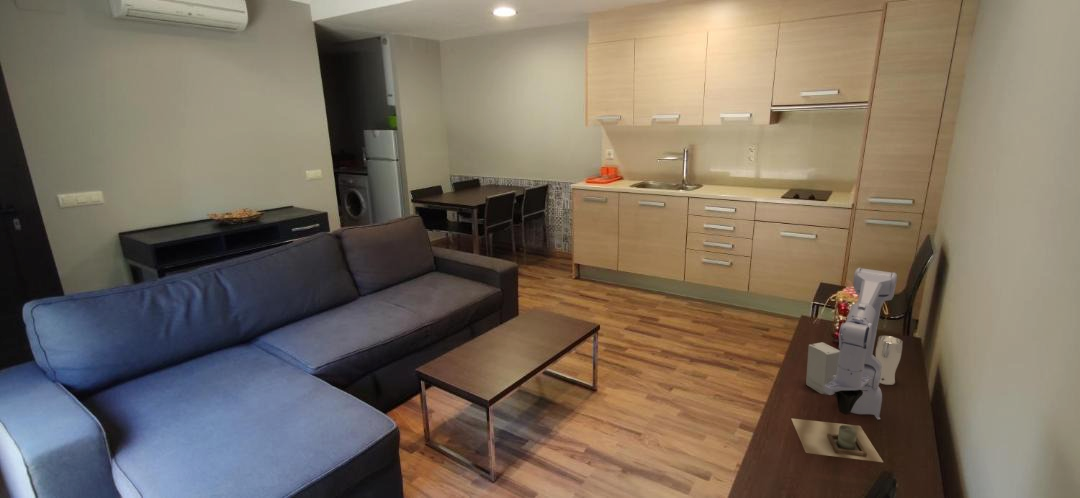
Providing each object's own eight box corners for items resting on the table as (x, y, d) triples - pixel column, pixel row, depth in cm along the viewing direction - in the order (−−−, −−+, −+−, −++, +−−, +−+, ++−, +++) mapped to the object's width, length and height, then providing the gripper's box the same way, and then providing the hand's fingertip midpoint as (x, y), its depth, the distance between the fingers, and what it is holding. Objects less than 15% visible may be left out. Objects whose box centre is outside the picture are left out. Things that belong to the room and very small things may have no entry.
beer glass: (874, 383, 163) (880, 342, 160) (869, 374, 170) (875, 334, 166) (899, 387, 161) (906, 345, 157) (893, 377, 167) (900, 336, 163)
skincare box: (838, 394, 158) (844, 351, 154) (822, 396, 156) (828, 354, 153) (818, 381, 166) (823, 341, 162) (803, 383, 164) (808, 343, 161)
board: (859, 429, 139) (860, 422, 139) (883, 466, 124) (884, 458, 124) (790, 421, 144) (791, 415, 143) (805, 456, 129) (806, 449, 128)
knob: (845, 440, 133) (848, 423, 132) (858, 449, 129) (861, 432, 128) (833, 442, 132) (835, 425, 131) (845, 452, 128) (848, 434, 127)
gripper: (857, 355, 133) (851, 399, 137) (816, 364, 129) (810, 410, 132) (882, 366, 127) (874, 413, 130) (839, 377, 122) (833, 424, 126)
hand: (844, 412), depth 131 cm, fingers closed
